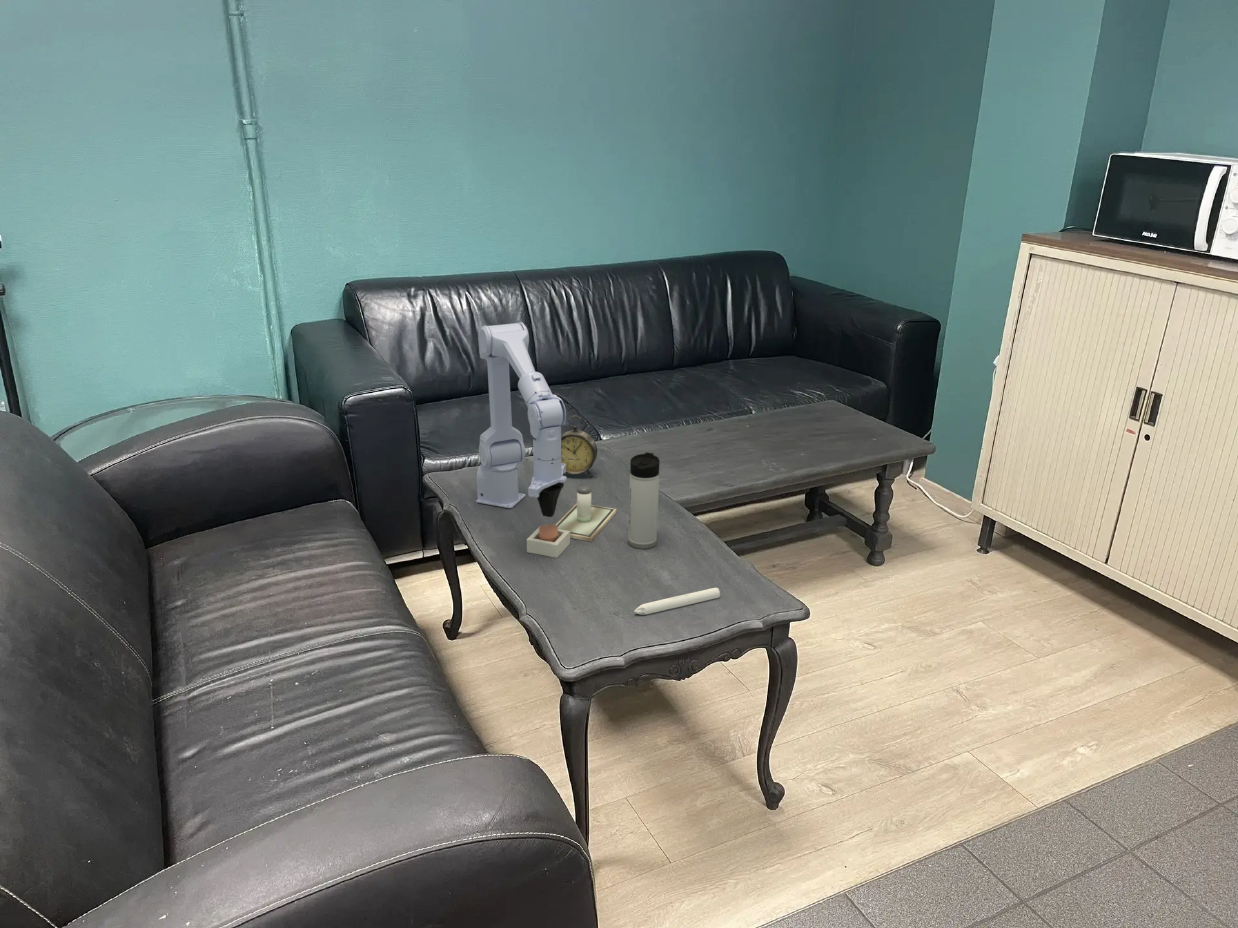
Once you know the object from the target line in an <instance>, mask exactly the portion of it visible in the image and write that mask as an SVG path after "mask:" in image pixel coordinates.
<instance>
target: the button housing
mask: <svg viewBox="0 0 1238 928" xmlns="http://www.w3.org/2000/svg"><path fill="white" fill-rule="evenodd" d="M570 544H571V538H570V531H566V530H561V529H558V539H557V540H556V541H555V542H550V541H544V540H539V527H538V528H536V530H535V531H533V532H532V534H531V535H529V537H527V539H526V552H527V553H530V554H535V555H541V556H545V557H549V558H556V559H558V557H560V556H561V554H562V553H563V552H564V551H565V550H566V549H567V547H568V546H569V545H570Z"/></svg>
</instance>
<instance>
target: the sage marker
mask: <svg viewBox="0 0 1238 928" xmlns="http://www.w3.org/2000/svg"><path fill="white" fill-rule="evenodd" d="M576 488H577V489H576V503H577V520H578V521H579V522H582V523H586V522H590V521H591V505H592V485H589V484H579V485H578V486H577V487H576Z"/></svg>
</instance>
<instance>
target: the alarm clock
mask: <svg viewBox="0 0 1238 928" xmlns="http://www.w3.org/2000/svg"><path fill="white" fill-rule="evenodd" d="M572 418H577V419H578V420H580V424H579V425H578V426H577V425H572V424H571V423H570V422H571V419H572ZM582 423H583V420H582V418H581V417H580V416H578V415H571V416H570V417H569V418H568V424H569V426H571V428H573V429H571V430H568V431H566V432H564V433H563V434H561V463H563V464H566V472H565V474H569V475H572V476H575V475H581V474H582V475H583V474H585V473H587V474H588V475H589V477H590V478H593V474H592V473H591V472H590V469H591V468H592V466H593V465H594V463H595V461H596V460H597V456H598V446H597V443H596V441H595V439H593V437H592V436H591V435H590V434H588V433H587V432H586V431H583V430H579V429H578V428H580V427H581V426H582Z"/></svg>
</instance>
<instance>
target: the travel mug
mask: <svg viewBox="0 0 1238 928" xmlns="http://www.w3.org/2000/svg"><path fill="white" fill-rule="evenodd" d="M660 462H661V461H660V458H659V457H658V456H656V454H655V455H654V453H653V452H645V453H640V454H637V455H634V456H632V457H631V458H630V465H629V466H630V467H629V469H630V470H629V497H628V538H627V539H628V540H627V542H628V544H629V545H630V546H631V547H633V548H636V549H642V550H644V549H645V550H646V549H651V548H653V547H655V546H656V545H657V544H658V543H657V542H658V541H657V540H658V519H659V518H658V517H659V516H658V515H659V495H660V494H659V493H660V492H659V490H660Z"/></svg>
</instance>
